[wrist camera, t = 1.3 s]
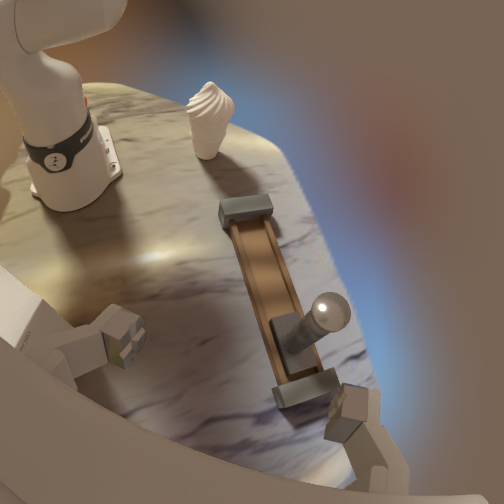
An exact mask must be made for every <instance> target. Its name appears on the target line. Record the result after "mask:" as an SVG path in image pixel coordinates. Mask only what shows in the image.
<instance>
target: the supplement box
mask: <svg viewBox="0 0 504 504" xmlns="http://www.w3.org/2000/svg"><path fill="white" fill-rule="evenodd" d="M72 328H74V327H73V326H72V325H71V324H69V323H68V322H67V321H66V320H65V319H64V318H63V317H62V316H61V315H60V314H58V313H57V312H56V311H55V310H54V309H53V308H52V307H51V306H50V305H49V304H48V303H47V302H46V301H45V300H43V299H42V298H40V297H39V296H38V295H37V294H35V293H34V292H33V291H31V290H30V289H29V288H28V287H26V286H25V285H24V284H22V283H21V282H20V281H19V280H18V279H16V278H15V277H14V276H13V275H11V274H10V273H9V272H8V271H7V270H6V269H4V268H3V267H2V266H1V265H0V336H1V337H2V338H3V339H4V340H5V341H7V342H8V343H9V344H10V345H12V346H13V347H14V348H15V349H17V350H18V351H19V352H21V353H22V354H23V355H24V354H25V353H26V352H27V351H28V350H29V349H30V348H31V347H32V346H33V345H34V344H35V343H36V342H37V341H38V340H39V339H40V338H42V337H45V336H49V335H52V334H55V333H59V332H62V331H66V330H69V329H72Z"/></svg>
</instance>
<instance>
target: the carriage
mask: <svg viewBox="0 0 504 504" xmlns="http://www.w3.org/2000/svg"><path fill="white" fill-rule="evenodd" d="M350 317H351V310H350V307H349V304H348V302H347V301H346V300H345V299H344V298H343V297H342V296H341V295H339V294H337V293H334V292H326V293H323V294H321V295H320V296H318V297H317V298H316V300H315V301H314V302H313V304H312V308H311V310H310V311H309V312H308V313H307V314H306V315H305V316H304V317H303V318H301V316H300V313H299V311H296V312H292V313H288V314H285V315H281V316H277V317H273V318H271V319H270V321H269V325H270V328H271V331H272V334H273V337H274V341H275V344H276V347H277V350H278V353H279V356H280V359H281V362H282V365H283V368H284V371H285V374H286V376H289V375H292V374H295V373H298V372H301V371H304V370H307V369H310V368H313V367H315V366H318V364H317V361H316V358H315V355H314V352H313V349H312V347H311V345H312V344H314V343H315V342H317V341H318V340H320V339H321V338H323V337H324V336H326V335H327V334H329V333H330V332H332V333H333V332H338V331H340V330H341V329H343V328H344V327H345V326H346V325H347V324H348V323H349V321H350Z"/></svg>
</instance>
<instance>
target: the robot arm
mask: <svg viewBox="0 0 504 504" xmlns="http://www.w3.org/2000/svg"><path fill="white" fill-rule="evenodd" d="M126 4H127V0H0V91H1V92H2V93H3V95H4V96H5V97H6V99H7V100H8V101H9V103H10V105H11V106H12V108H13V111H14V113H15V115H16V118H17V120H18V122H19V125H20V127H21V130H22V132H23V135H24V136H23V141H24V145H25V149H26V151H27V153H28V155H29V156H28V159H27V160H26V165H27V168H28V171H29V174H30V176H31V179H32V184H31V187H30V191H31V193H32V195H34V196H36V197H39V198H40V199H41V200H42V201H43V202H44V204H45V205H46V206H47V207H49V208H50V209H52V210H55V211H61V212H67V211H73V210H77V209H80V208H82V207H85V206H86V205H88V204H90V203H91V202H93V201H94V200H95V199H97V198H98V197H99V196H100V195H101V194H102V192H103V191H104V190H105V188H106V187H107V186H108V184H109V183H110V182H112V181H113V180H115V179H116V178H118V177H119V176H120V175H121V173H122V170H121V167H120V164H119V161H118V158H117V155H116V151H115V148H114V145H113V142H112V138H111V135H110V132H109V129H108V127H105V126H98V123H97V118H96V117H95V116H93V115H91V114H90V112H89V110H88V109H87V108H86V106H87V99H86V96H84V94H83V88H82V83H81V77H80V75H79V73H78V72H77V71H76V69H75V68H74V67H73V66H72V65H70V64H68V63H66V62H62V61H59V60H56V59H53V58H51V57H49V56H48V55H46V54H45V53H44V52H43V51H42V50H43V49H47V48H51V47H55V46H60V45H64V44H69V43H74V42H78V41H80V40H83V39H86V38H89V37H91V36H94V35H97V34H100V33H102V32H105V31H108V30H110V29H111V28H112V27H113V26H114V25H115V24H116V23H117V21H118V20H119V19H120V17H121V15H122V14H123V12H124V9H125V7H126ZM113 167H114V168H113ZM144 324H145V322H144V318H143V317H142V316H139V315H137V314H135V313H133V312H131V311H129V310H126V309H124V308H122V307H120V306H117V305H115V304H111V305H109V306H108V307H107V308H106V309H105V310H104V311H103V312H102V313H101V314H100V315H99V316H98V317H97V318H96V319H95V320H94V321H93V322H92V323H91V324H90V325H87V324H86V325H83V326H79V327H76V328H72V329H69V330H66V331H62V332H59V333H55V334H52V335H49V336H45V337H42V338H40V339H39V340H38V341H37V342H36V343H35V344H34V345H33V346H32V347H31V348H30V349H29V350H28V351H27V352H26V353H25V354H24V355H23V354H22V353H21V352H19V351H18V350H17V349H15V348H14V347H13V346H12V345H10V344H9V343H8V342H7V341H5V340H4V339H3V338H2V337H1V336H0V504H489V503H488V502H487V501H486V499H485V498H484V497H483V496H481V495H474V494H473V495H458V496H408V494H409V467H408V465H407V464H406V462H405V460H404V459H403V458H402V455H401V454H400V452H399V450H398V449H397V447H396V445H395V444H394V442H393V441H392V439H391V437H390V436H389V434H388V432H387V431H386V429H385V428H384V426H383V425H380V392H379V390H374V389H369V388H366V387H361V386H356V385H352V384H348V383H342V384H341V386H340V387H339V392H338V394H335V395H334V397H333V399H332V401H331V403H330V406H329V410H328V415H327V416H328V418H329V422H328V423H327V424H326V427H325V434H324V439H325V440H329V441H334V442H338V443H342V444H343V446H344V448H345V451H346V453H347V455H348V458H349V460H350V463H351V465H352V468H353V470H354V473H355V475H356V477H357V480H355V481H354V482H353V483H351V484H350V485H348V486H347V487H346V488H345V489H337V488H331V487H325V486H320V485H314V484H309V483H304V482H300V481H295V480H291V479H287V478H282V477H278V476H274V475H271V474H267V473H263V472H260V471H256V470H253V469H249V468H246V467H243V466H239V465H236V464H233V463H230V462H227V461H224V460H221V459H218V458H215V457H213V456H210V455H207V454H204V453H202V452H199V451H196V450H194V449H191V448H189V447H186V446H184V445H181V444H179V443H176V442H174V441H172V440H169V439H167V438H165V437H163V436H160V435H158V434H156V433H154V432H152V431H149V430H147V429H145V428H143V427H141V426H139V425H137V424H135V423H133V422H131V421H129V420H127V419H125V418H123V417H121V416H119V415H117V414H115V413H114V412H112V411H110V410H108V409H106V408H104V407H103V406H101V405H99V404H97V403H96V402H94V401H92V400H90V399H89V398H87V397H85V396H84V395H82V394H80V393H79V392H77V391H78V388H77V385H76V383H75V381H74V379H75V378H77V377H79V376H81V375H83V374H85V373H87V372H90V371H92V370H94V369H96V368H98V367H100V366H102V365H105V364H107V363H108V362H110V363H112V364H114V365H117V366H119V367H121V368H123V369H126V368H127V366H128V365H129V364H130V362H131V361H132V360H133V354H134V353H137V352H139V351H140V349H141V348H142V346H143V344H144V341H145V336H146V335H145V330H144V329H143V325H144Z"/></svg>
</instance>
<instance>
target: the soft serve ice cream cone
mask: <svg viewBox="0 0 504 504" xmlns="http://www.w3.org/2000/svg"><path fill="white" fill-rule="evenodd" d="M189 101H190V103H189V104H188V105H187V106H186V107H187V108H188V111H187V114H188V115H189V121H190V135H191V137H192V141H193V146H194V150H195V154H196V156H197V157H198V158H200V159H203V160H209V159H212V158H214V157H215V156H216V155H217V152H218V150H219V147H220V145H221V142H222V140H223V138H224V137H225V135H226V129H227V125H228V123H229V121H230V118H231V117H232V115H233V113H234V110H235V106H234V103H233V101H232V99H231V98H230V97H229V96H228V95H226V94H225V93H224V92H223V91H222V90H221V89H220V88H218V87H217V86H216V85H215V84H214V83H213V82H208V83H206V84H205V85H204V87H203V88H202V89H201V90H200V92H199V93H197V94H195V96H194V97H193V98H191V99H189Z"/></svg>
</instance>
